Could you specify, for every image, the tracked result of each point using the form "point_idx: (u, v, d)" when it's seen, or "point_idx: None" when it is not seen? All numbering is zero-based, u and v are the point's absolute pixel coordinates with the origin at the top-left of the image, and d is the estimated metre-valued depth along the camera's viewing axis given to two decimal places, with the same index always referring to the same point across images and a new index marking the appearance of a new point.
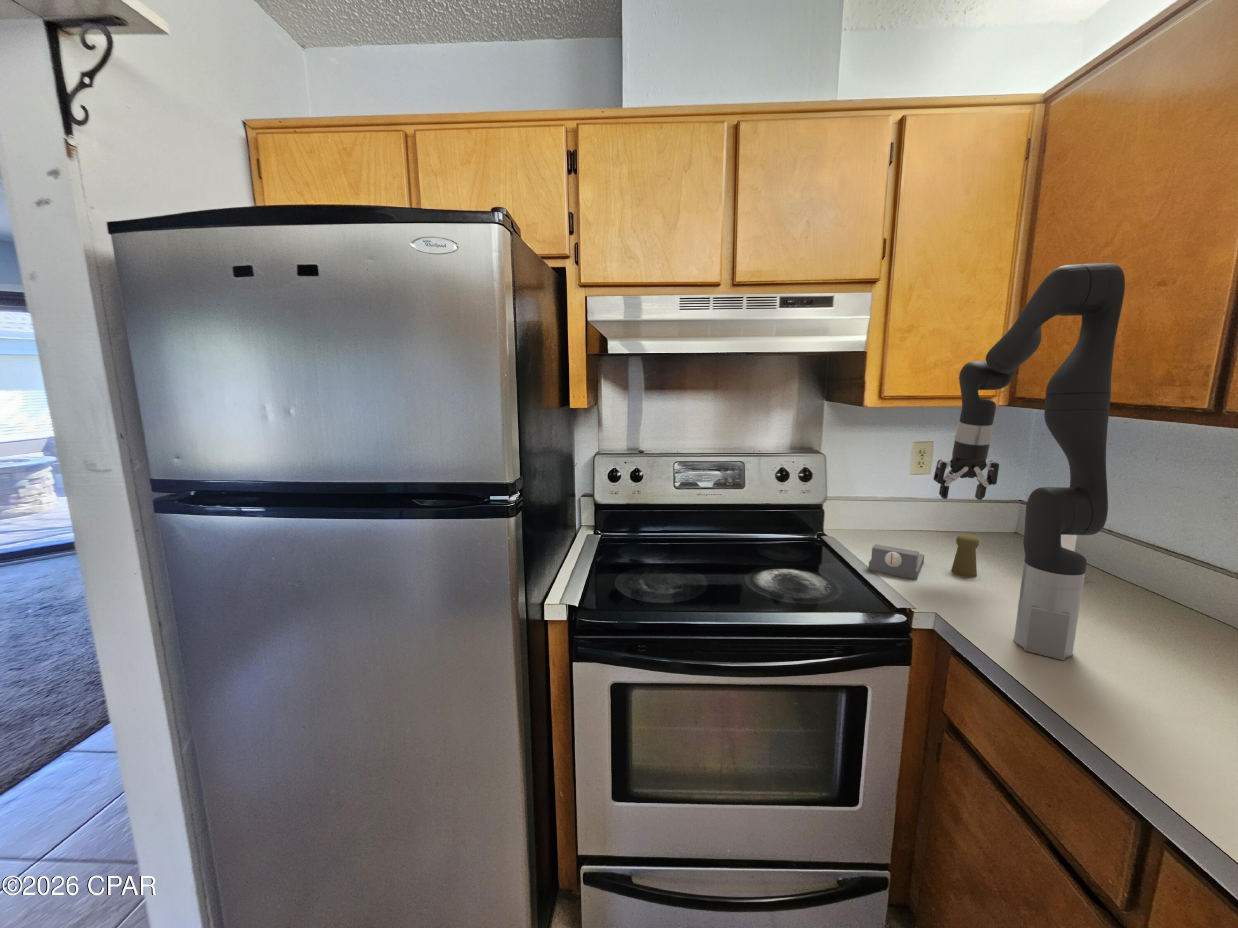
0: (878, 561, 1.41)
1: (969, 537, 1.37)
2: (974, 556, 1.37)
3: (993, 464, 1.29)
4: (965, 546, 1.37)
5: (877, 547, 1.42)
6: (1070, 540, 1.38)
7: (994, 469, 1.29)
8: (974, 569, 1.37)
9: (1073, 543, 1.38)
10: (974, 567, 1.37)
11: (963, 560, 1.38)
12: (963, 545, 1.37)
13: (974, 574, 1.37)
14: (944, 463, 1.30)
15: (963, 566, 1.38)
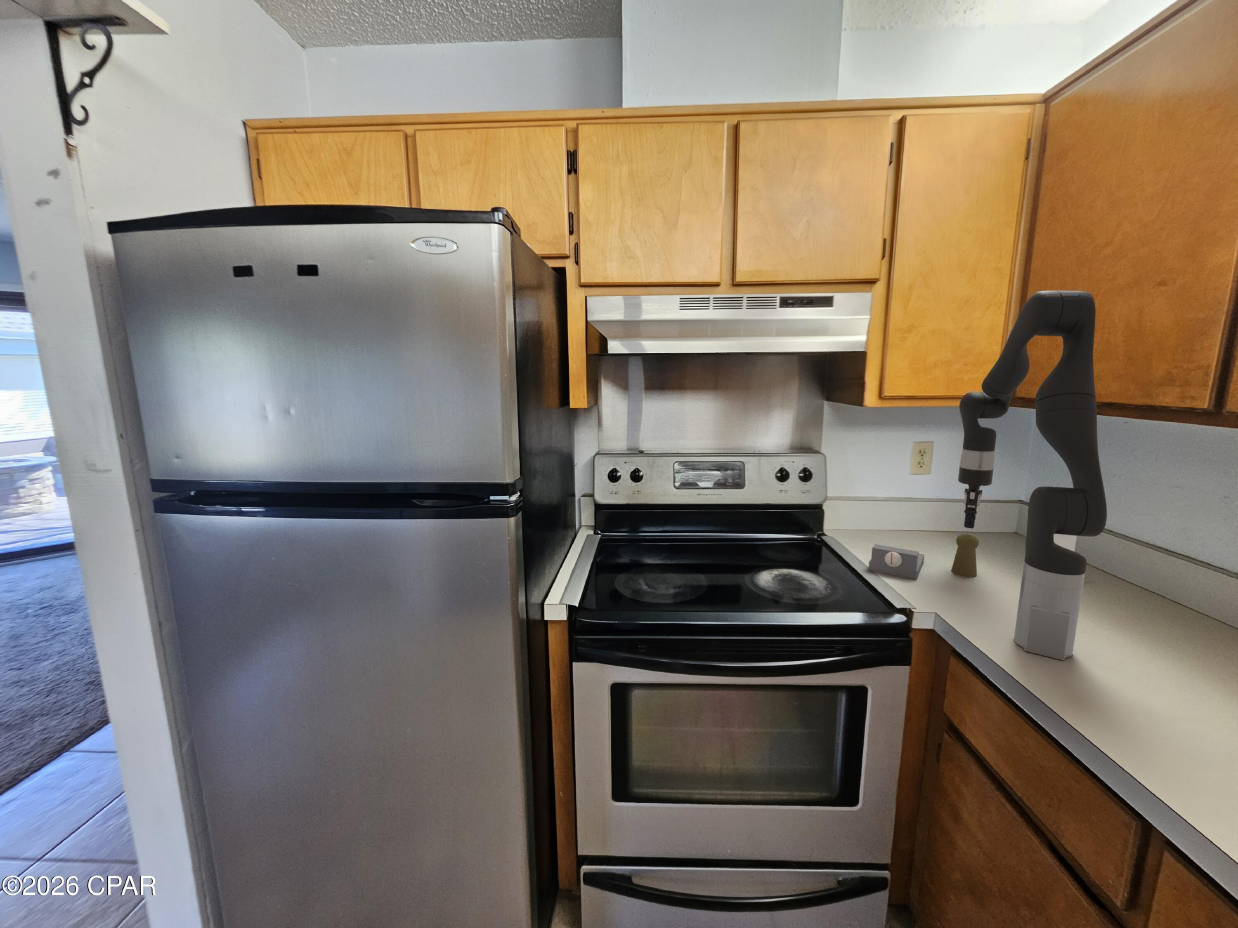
0: (878, 561, 1.41)
1: (969, 537, 1.37)
2: (974, 556, 1.37)
3: None
4: (965, 546, 1.37)
5: (877, 547, 1.42)
6: (1070, 540, 1.38)
7: None
8: (974, 569, 1.37)
9: (1073, 543, 1.38)
10: (974, 567, 1.37)
11: (963, 560, 1.38)
12: (963, 545, 1.37)
13: (974, 574, 1.37)
14: (978, 493, 1.30)
15: (963, 566, 1.38)
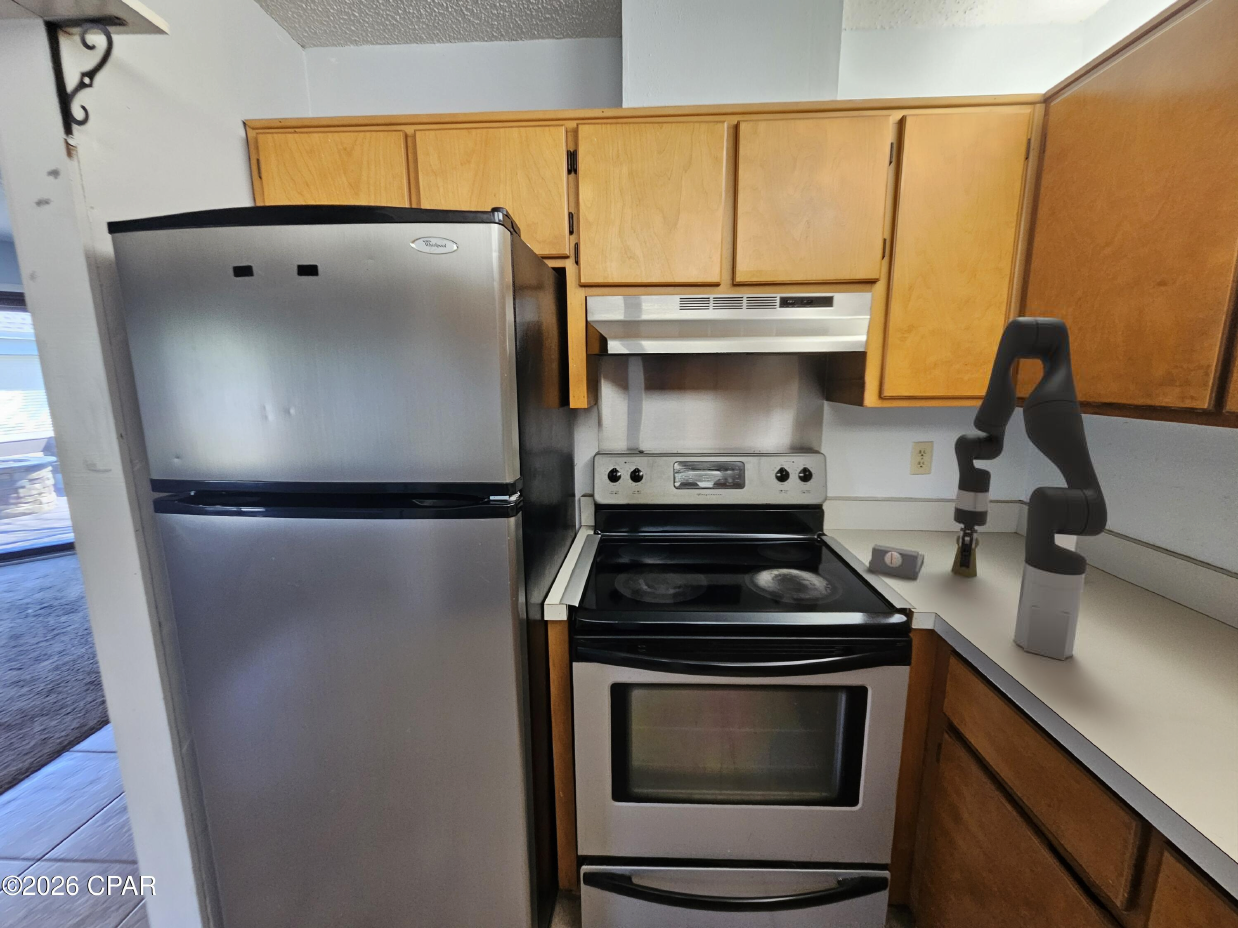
0: (878, 561, 1.41)
1: None
2: (974, 556, 1.37)
3: None
4: None
5: (877, 547, 1.42)
6: (1070, 540, 1.38)
7: None
8: (974, 569, 1.37)
9: (1073, 543, 1.38)
10: (974, 567, 1.37)
11: None
12: None
13: (974, 574, 1.38)
14: (973, 538, 1.33)
15: None
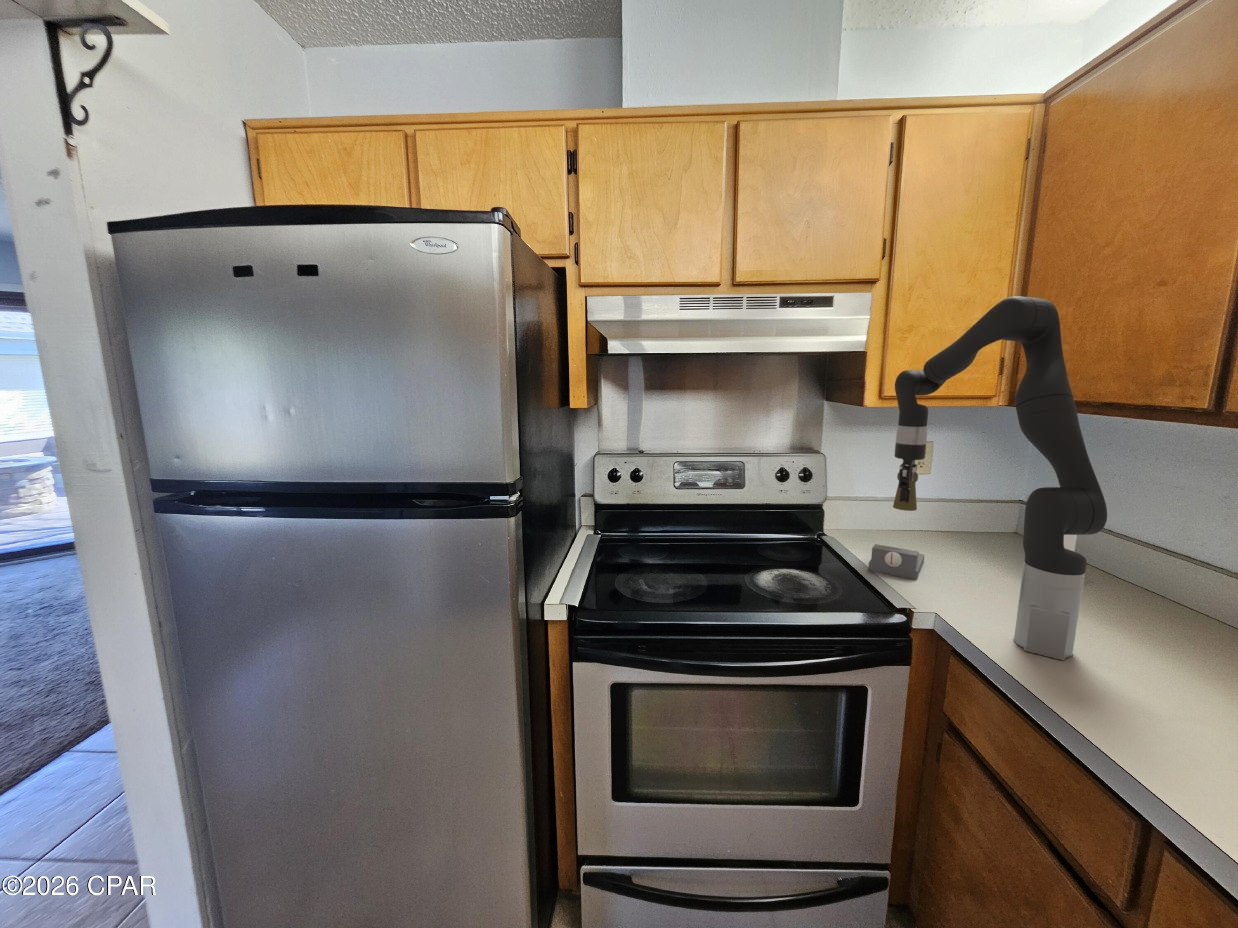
0: (878, 561, 1.41)
1: None
2: (913, 490, 1.41)
3: (914, 464, 1.46)
4: None
5: (877, 547, 1.42)
6: (1070, 540, 1.38)
7: None
8: (914, 502, 1.42)
9: (1073, 543, 1.38)
10: (913, 501, 1.42)
11: None
12: None
13: (913, 508, 1.42)
14: (910, 471, 1.37)
15: None
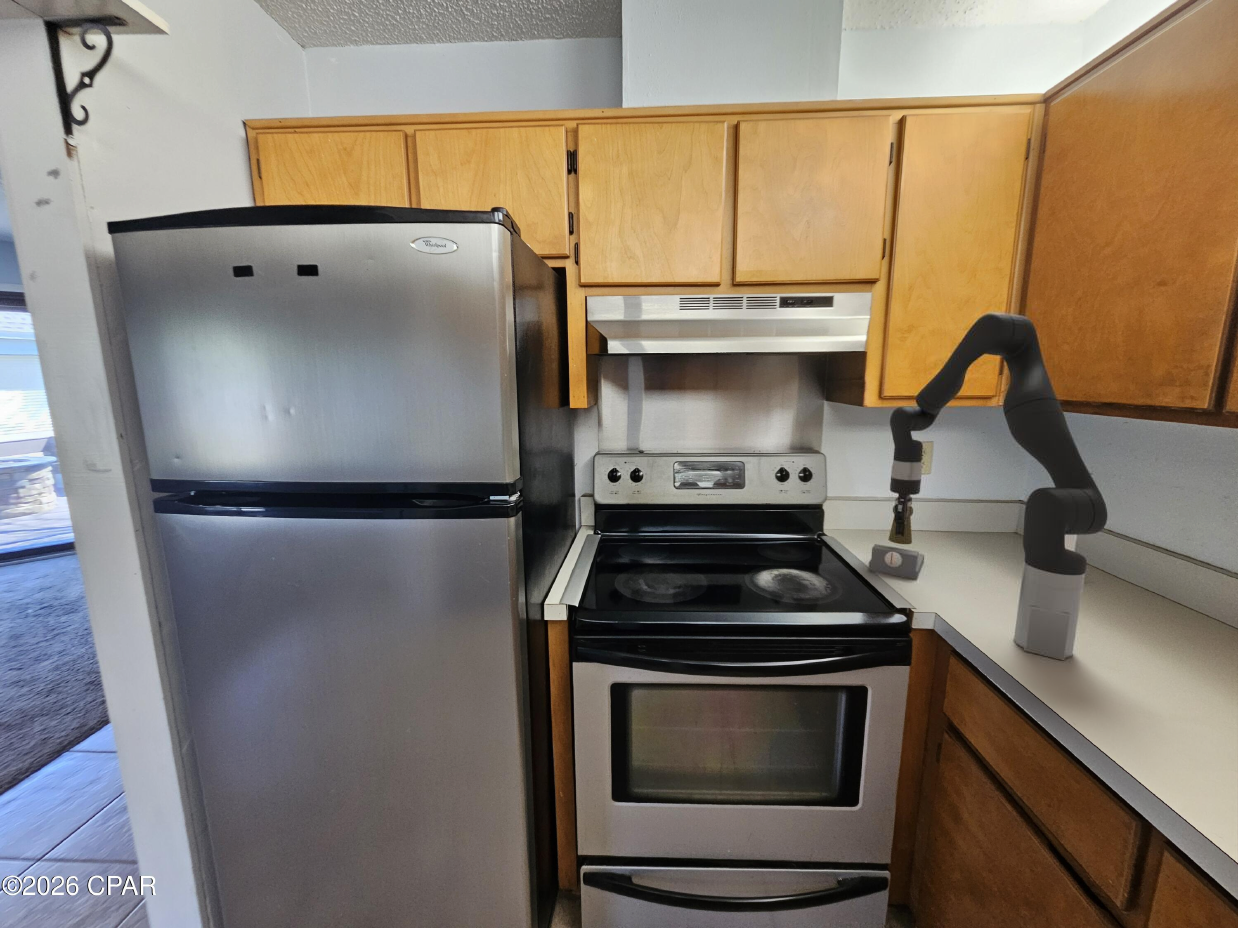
0: (878, 561, 1.41)
1: None
2: (909, 524, 1.43)
3: (909, 497, 1.48)
4: None
5: (877, 547, 1.42)
6: (1070, 540, 1.38)
7: None
8: (909, 536, 1.43)
9: (1073, 543, 1.38)
10: (909, 534, 1.43)
11: None
12: None
13: (909, 541, 1.43)
14: (905, 506, 1.38)
15: None
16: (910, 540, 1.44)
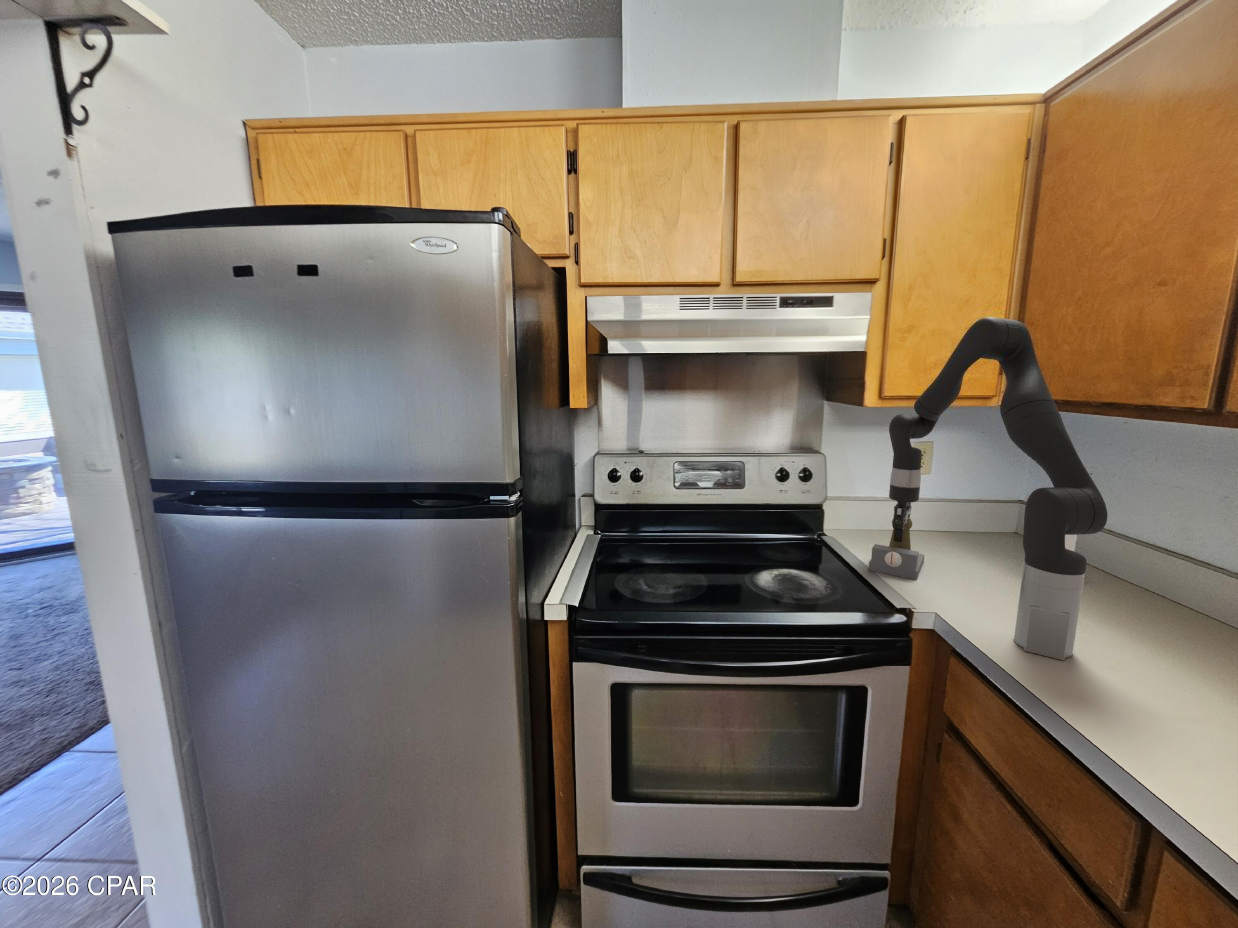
0: (878, 561, 1.41)
1: None
2: (908, 537, 1.44)
3: None
4: None
5: (877, 547, 1.42)
6: (1070, 540, 1.38)
7: (910, 505, 1.48)
8: (908, 549, 1.44)
9: (1073, 543, 1.38)
10: (908, 547, 1.44)
11: None
12: None
13: None
14: (904, 509, 1.39)
15: (897, 546, 1.45)
16: None
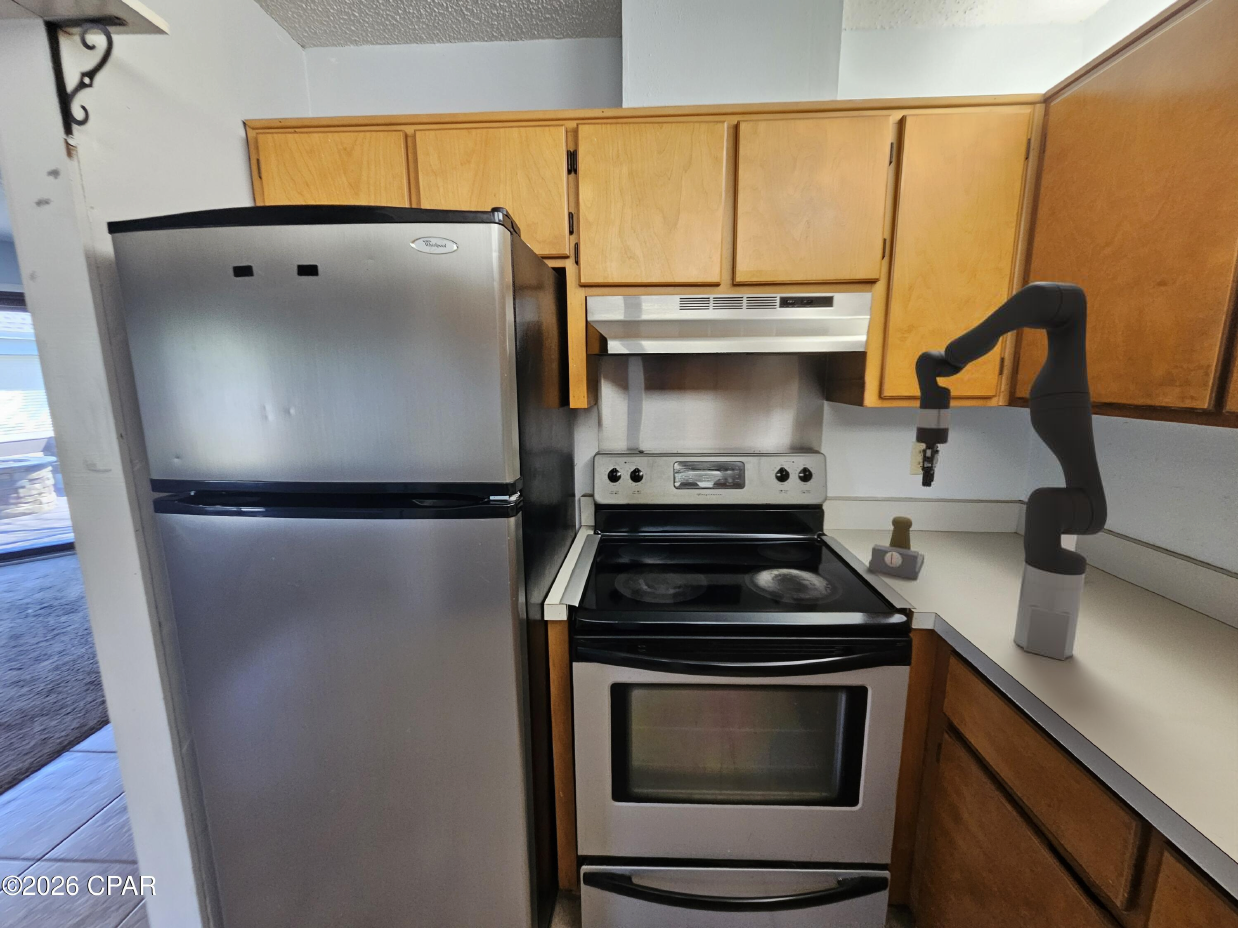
0: (878, 561, 1.41)
1: (903, 518, 1.44)
2: (908, 537, 1.44)
3: None
4: (899, 527, 1.44)
5: (877, 547, 1.42)
6: (1070, 540, 1.38)
7: None
8: (908, 549, 1.44)
9: (1073, 543, 1.38)
10: (908, 547, 1.44)
11: (898, 541, 1.45)
12: (897, 526, 1.44)
13: None
14: (934, 450, 1.31)
15: (897, 546, 1.45)
16: None
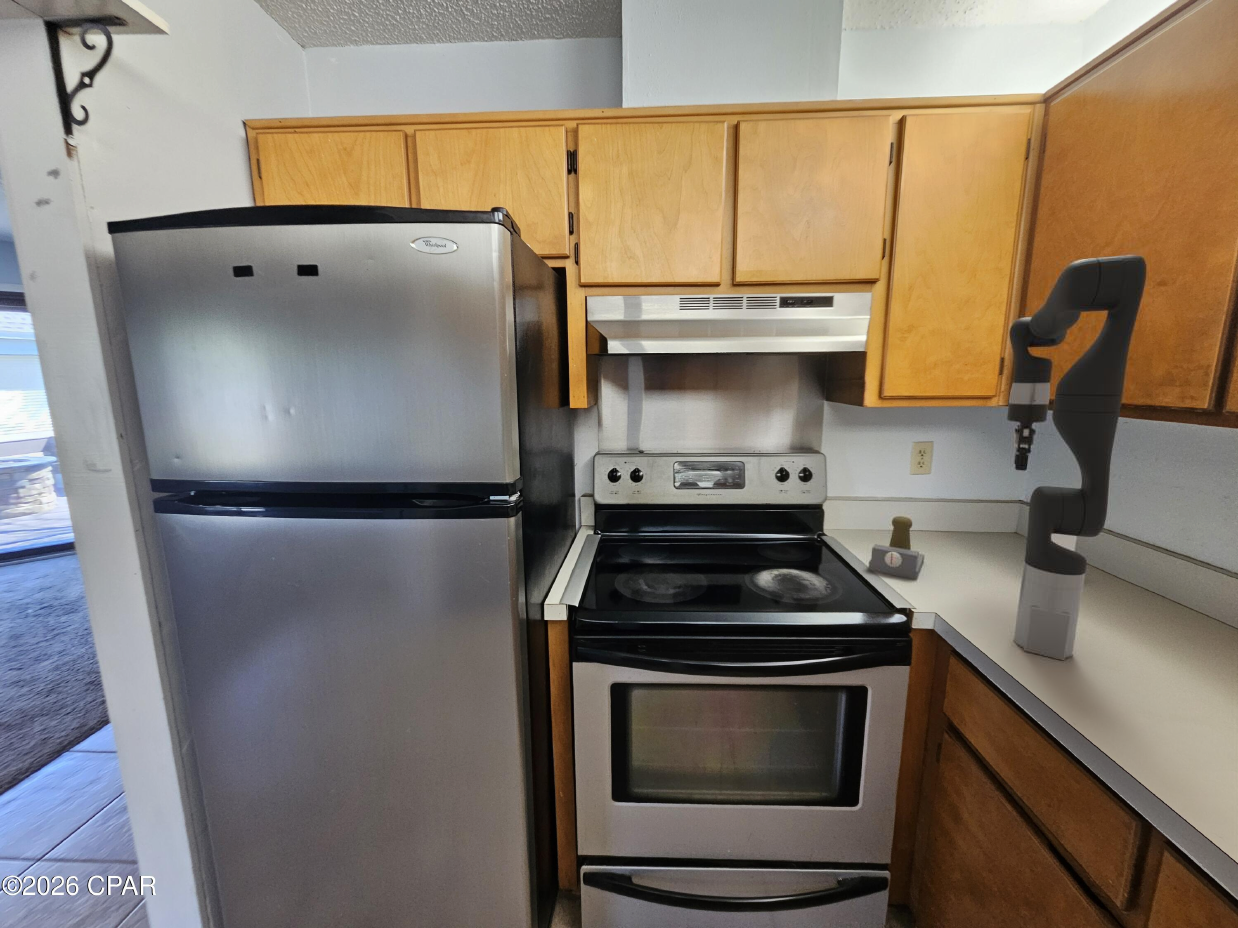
0: (878, 561, 1.41)
1: (903, 518, 1.44)
2: (908, 537, 1.44)
3: None
4: (899, 527, 1.44)
5: (877, 547, 1.42)
6: (1070, 540, 1.38)
7: None
8: (908, 549, 1.44)
9: (1073, 543, 1.38)
10: (908, 547, 1.44)
11: (898, 541, 1.45)
12: (897, 526, 1.44)
13: None
14: (1033, 429, 1.17)
15: (897, 546, 1.45)
16: None
